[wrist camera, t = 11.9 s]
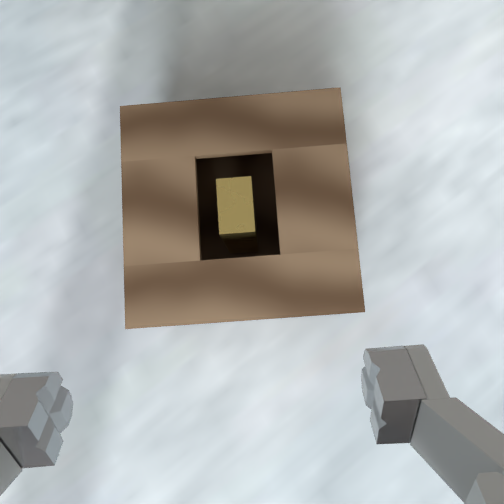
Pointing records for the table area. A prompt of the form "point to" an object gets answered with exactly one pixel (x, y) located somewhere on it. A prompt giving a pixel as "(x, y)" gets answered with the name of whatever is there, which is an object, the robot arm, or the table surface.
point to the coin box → (266, 208)
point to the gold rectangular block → (237, 214)
